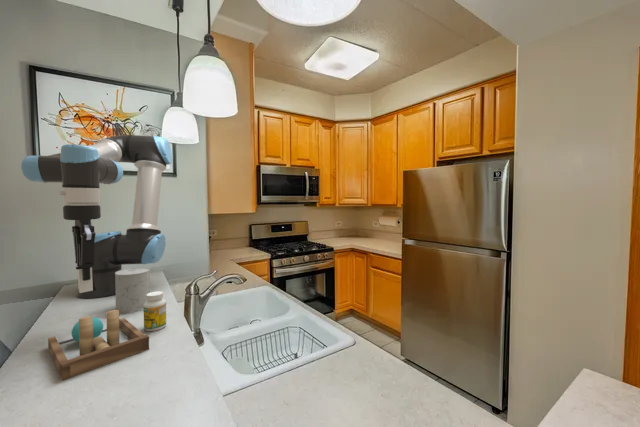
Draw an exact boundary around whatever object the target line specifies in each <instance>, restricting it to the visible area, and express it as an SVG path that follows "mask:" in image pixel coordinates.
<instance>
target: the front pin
mask: <svg viewBox="0 0 640 427" xmlns="http://www.w3.org/2000/svg"><path fill="white" fill-rule="evenodd" d="M107 347H110V346H109V345H108V344H107V340H105V339H104V338H103V337H102V336H98V337H95V338H94V339H93V351H97V350H100V349H104V348H107Z"/></svg>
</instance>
